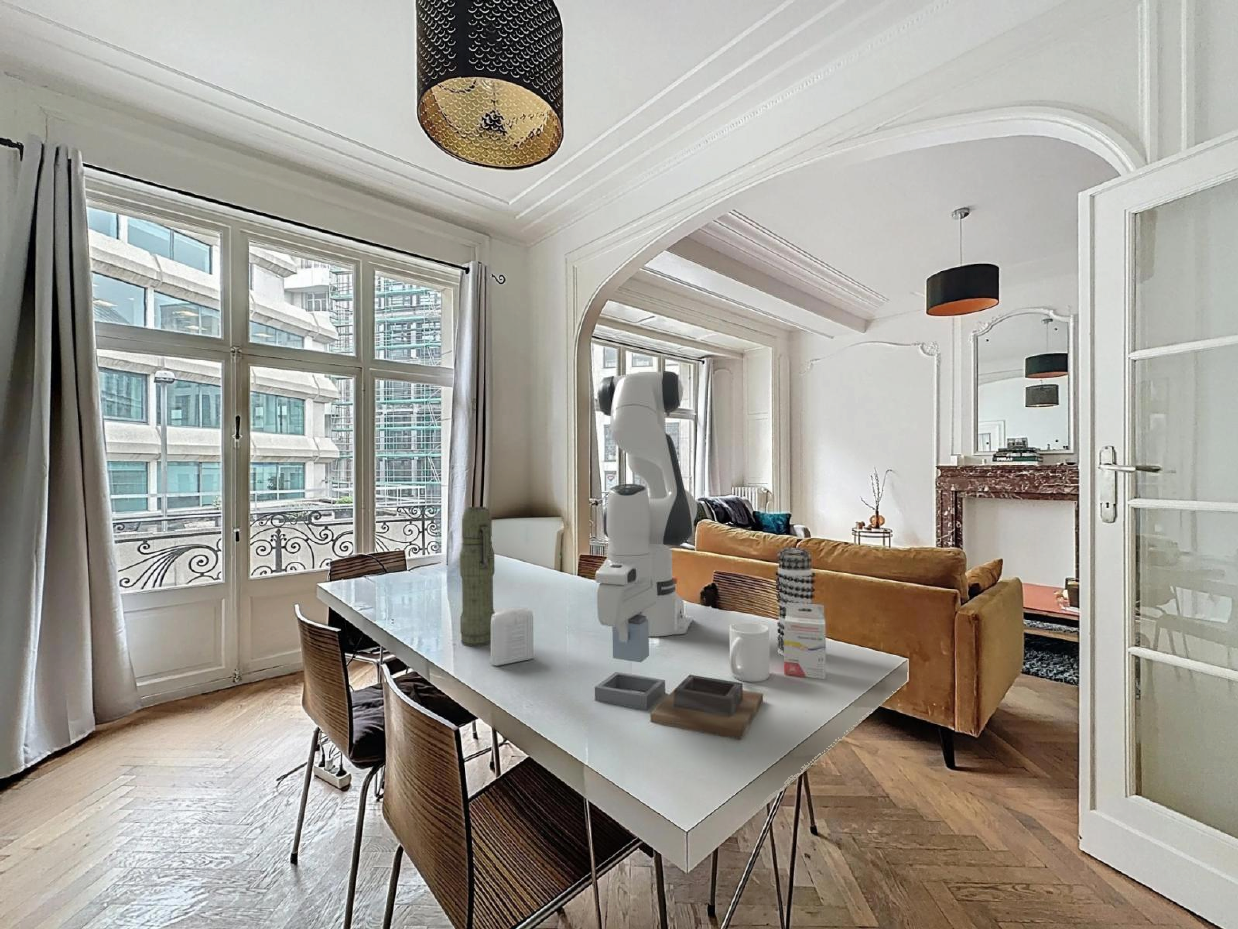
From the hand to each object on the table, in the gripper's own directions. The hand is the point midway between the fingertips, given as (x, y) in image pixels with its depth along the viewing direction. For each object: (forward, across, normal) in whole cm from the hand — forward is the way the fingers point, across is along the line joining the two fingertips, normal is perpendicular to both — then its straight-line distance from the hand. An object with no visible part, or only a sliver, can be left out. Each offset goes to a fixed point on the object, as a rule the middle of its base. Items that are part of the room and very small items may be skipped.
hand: (630, 637), depth 112 cm
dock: (+12, 0, +16) cm, 20 cm away
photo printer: (+12, -7, -34) cm, 37 cm away
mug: (+12, -18, +18) cm, 28 cm away
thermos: (+12, -16, -52) cm, 56 cm away
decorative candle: (+12, -40, +25) cm, 48 cm away
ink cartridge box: (+12, -26, +29) cm, 41 cm away
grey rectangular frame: (+12, 0, 0) cm, 12 cm away
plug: (+4, 0, 0) cm, 4 cm away
